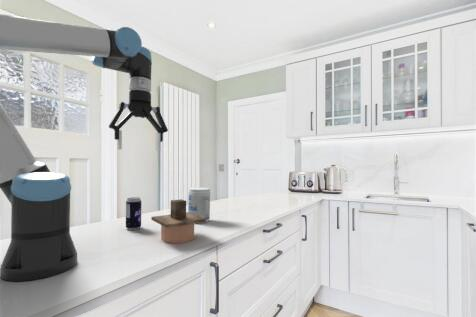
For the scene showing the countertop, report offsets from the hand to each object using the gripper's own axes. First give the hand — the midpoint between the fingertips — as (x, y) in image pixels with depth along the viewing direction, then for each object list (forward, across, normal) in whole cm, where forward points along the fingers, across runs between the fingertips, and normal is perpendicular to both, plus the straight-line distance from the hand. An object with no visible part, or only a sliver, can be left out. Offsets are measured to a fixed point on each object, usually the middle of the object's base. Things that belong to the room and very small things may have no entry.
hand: (139, 150), depth 95 cm
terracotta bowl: (+31, +10, -12) cm, 34 cm away
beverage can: (+31, +1, +10) cm, 33 cm away
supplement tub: (+31, +28, +6) cm, 42 cm away
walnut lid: (+25, +10, -12) cm, 29 cm away
